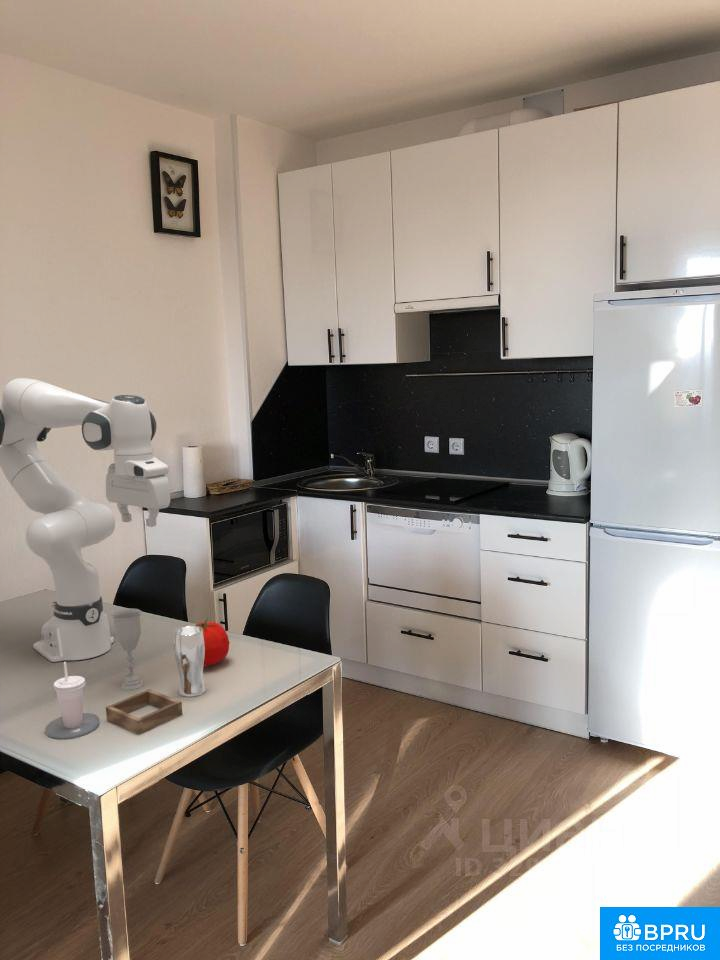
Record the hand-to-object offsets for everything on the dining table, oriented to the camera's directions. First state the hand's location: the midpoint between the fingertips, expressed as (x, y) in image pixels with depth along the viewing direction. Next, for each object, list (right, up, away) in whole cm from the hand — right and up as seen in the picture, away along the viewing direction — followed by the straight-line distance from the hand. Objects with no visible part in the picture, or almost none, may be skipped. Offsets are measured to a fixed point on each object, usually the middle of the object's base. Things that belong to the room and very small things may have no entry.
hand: (139, 523), depth 193 cm
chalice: (-3, -39, +5) cm, 40 cm away
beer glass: (+13, -40, 0) cm, 41 cm away
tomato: (+13, -37, +16) cm, 42 cm away
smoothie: (-10, -42, -16) cm, 46 cm away
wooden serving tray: (+5, -42, -13) cm, 44 cm away
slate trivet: (-10, -43, -16) cm, 47 cm away
